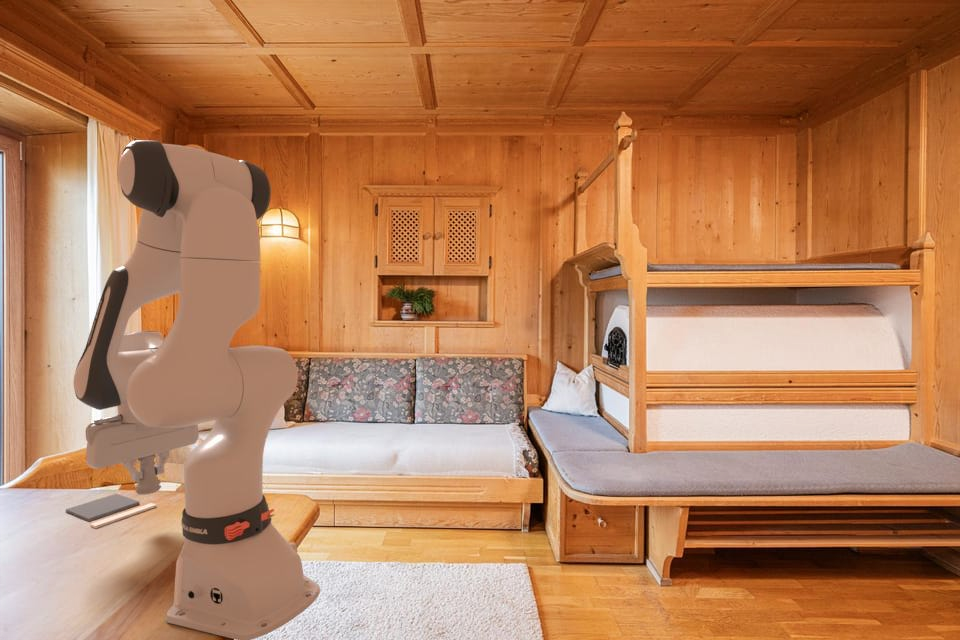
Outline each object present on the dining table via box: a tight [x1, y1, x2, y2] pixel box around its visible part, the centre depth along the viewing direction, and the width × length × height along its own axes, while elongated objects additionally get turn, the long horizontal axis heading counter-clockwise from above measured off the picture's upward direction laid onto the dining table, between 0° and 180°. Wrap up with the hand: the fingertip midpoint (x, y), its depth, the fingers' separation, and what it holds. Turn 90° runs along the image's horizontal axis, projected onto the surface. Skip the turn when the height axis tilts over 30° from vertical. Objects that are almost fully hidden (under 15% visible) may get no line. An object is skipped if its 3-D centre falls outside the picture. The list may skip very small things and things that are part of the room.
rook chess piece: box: [135, 454, 162, 496], centre depth 104 cm, size 4×4×8 cm
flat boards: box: [65, 493, 157, 529], centre depth 112 cm, size 15×12×1 cm
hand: (148, 477), depth 104 cm, fingers closed on rook chess piece, 3 cm apart
